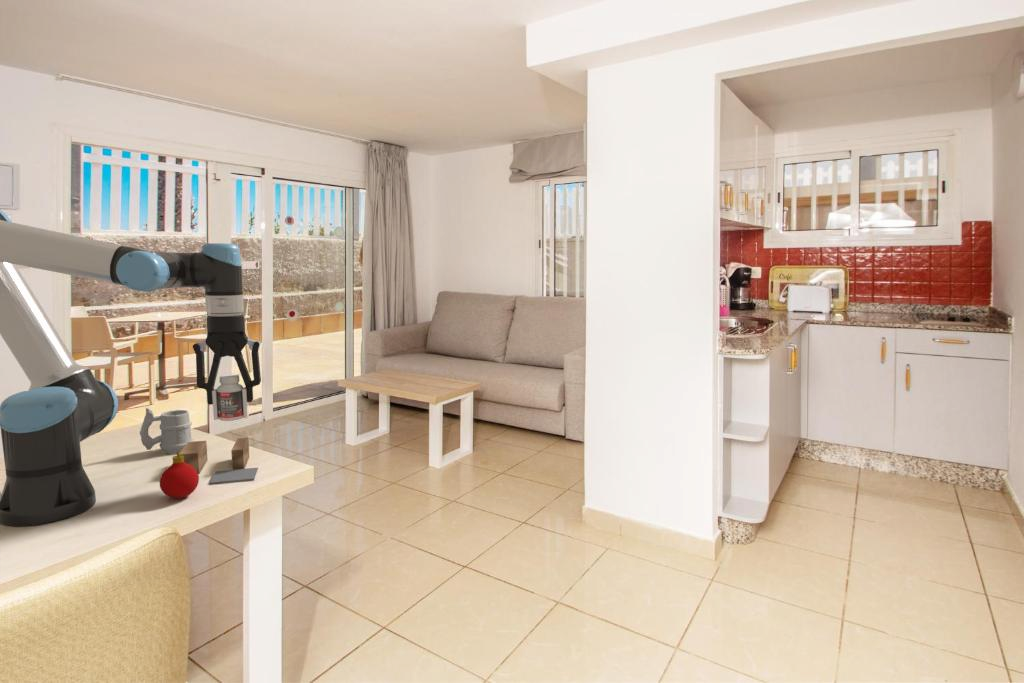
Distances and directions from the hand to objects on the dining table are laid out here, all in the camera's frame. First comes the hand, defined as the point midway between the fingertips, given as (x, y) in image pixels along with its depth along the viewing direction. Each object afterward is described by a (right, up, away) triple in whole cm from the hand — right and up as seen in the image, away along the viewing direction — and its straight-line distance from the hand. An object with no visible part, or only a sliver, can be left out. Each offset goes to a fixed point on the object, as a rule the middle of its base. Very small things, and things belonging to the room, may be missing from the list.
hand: (231, 417), depth 134 cm
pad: (0, -14, +2) cm, 14 cm away
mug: (-26, -12, +20) cm, 34 cm away
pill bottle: (0, -1, 0) cm, 1 cm away
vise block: (-7, -13, +9) cm, 17 cm away
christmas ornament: (-6, -16, -10) cm, 19 cm away
